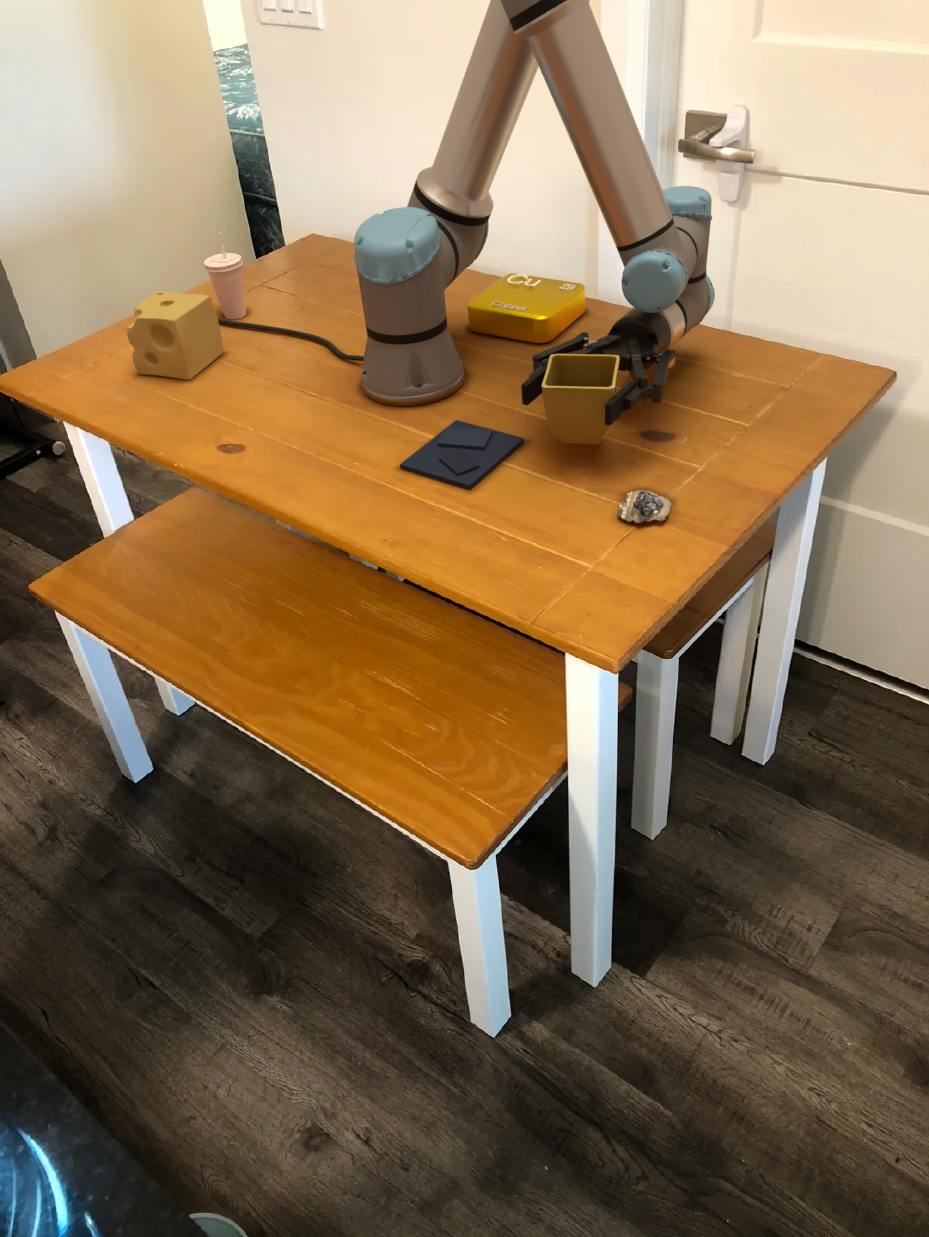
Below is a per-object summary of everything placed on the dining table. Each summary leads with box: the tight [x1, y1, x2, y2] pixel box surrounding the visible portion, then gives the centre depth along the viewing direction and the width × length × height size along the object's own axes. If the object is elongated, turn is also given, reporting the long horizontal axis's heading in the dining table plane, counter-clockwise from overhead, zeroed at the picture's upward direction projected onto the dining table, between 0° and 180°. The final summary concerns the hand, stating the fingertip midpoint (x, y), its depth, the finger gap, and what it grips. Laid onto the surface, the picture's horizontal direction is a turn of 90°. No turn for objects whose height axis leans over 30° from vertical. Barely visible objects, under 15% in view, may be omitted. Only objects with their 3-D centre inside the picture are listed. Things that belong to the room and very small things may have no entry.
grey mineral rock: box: [616, 489, 672, 524], centre depth 116 cm, size 7×8×2 cm
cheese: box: [126, 290, 224, 381], centre depth 155 cm, size 10×11×10 cm
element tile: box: [467, 272, 586, 345], centre depth 159 cm, size 15×15×5 cm
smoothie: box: [203, 232, 247, 320], centre depth 167 cm, size 6×6×14 cm
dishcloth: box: [399, 419, 525, 490], centre depth 129 cm, size 11×13×1 cm
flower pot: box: [542, 354, 620, 445], centre depth 123 cm, size 9×9×9 cm
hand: (565, 405), depth 119 cm, fingers closed on flower pot, 11 cm apart
